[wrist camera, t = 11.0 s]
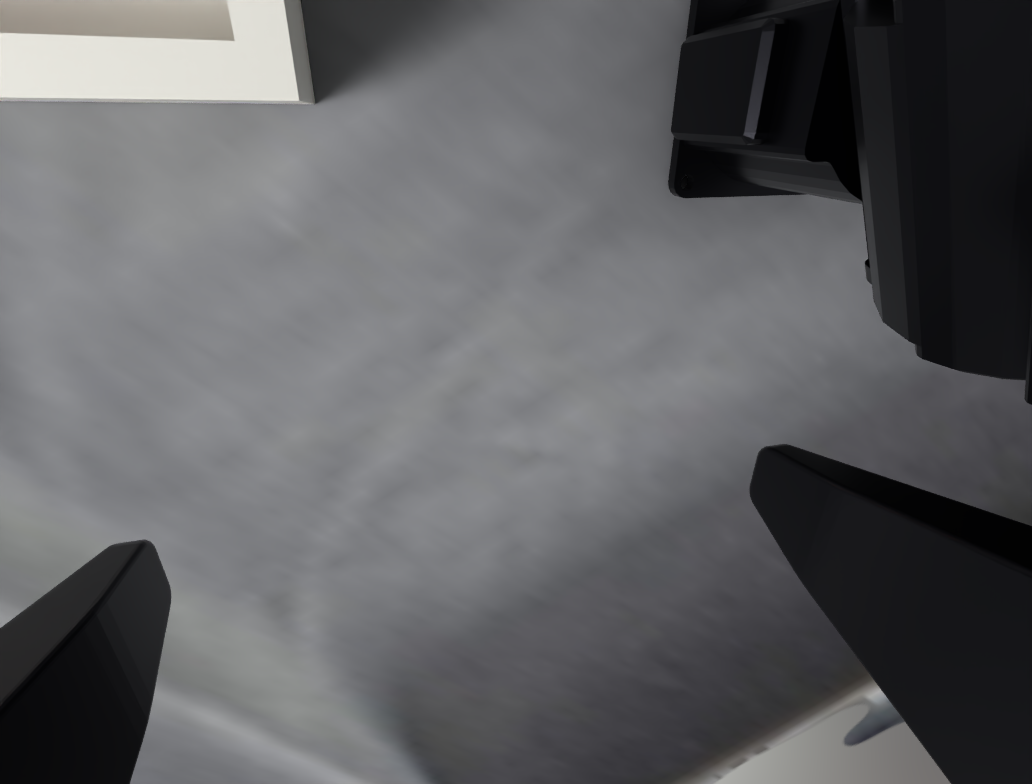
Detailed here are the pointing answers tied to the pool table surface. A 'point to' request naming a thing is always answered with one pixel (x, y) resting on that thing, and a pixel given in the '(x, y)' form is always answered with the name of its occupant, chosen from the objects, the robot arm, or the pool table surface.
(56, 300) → the pool table surface
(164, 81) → the bin
